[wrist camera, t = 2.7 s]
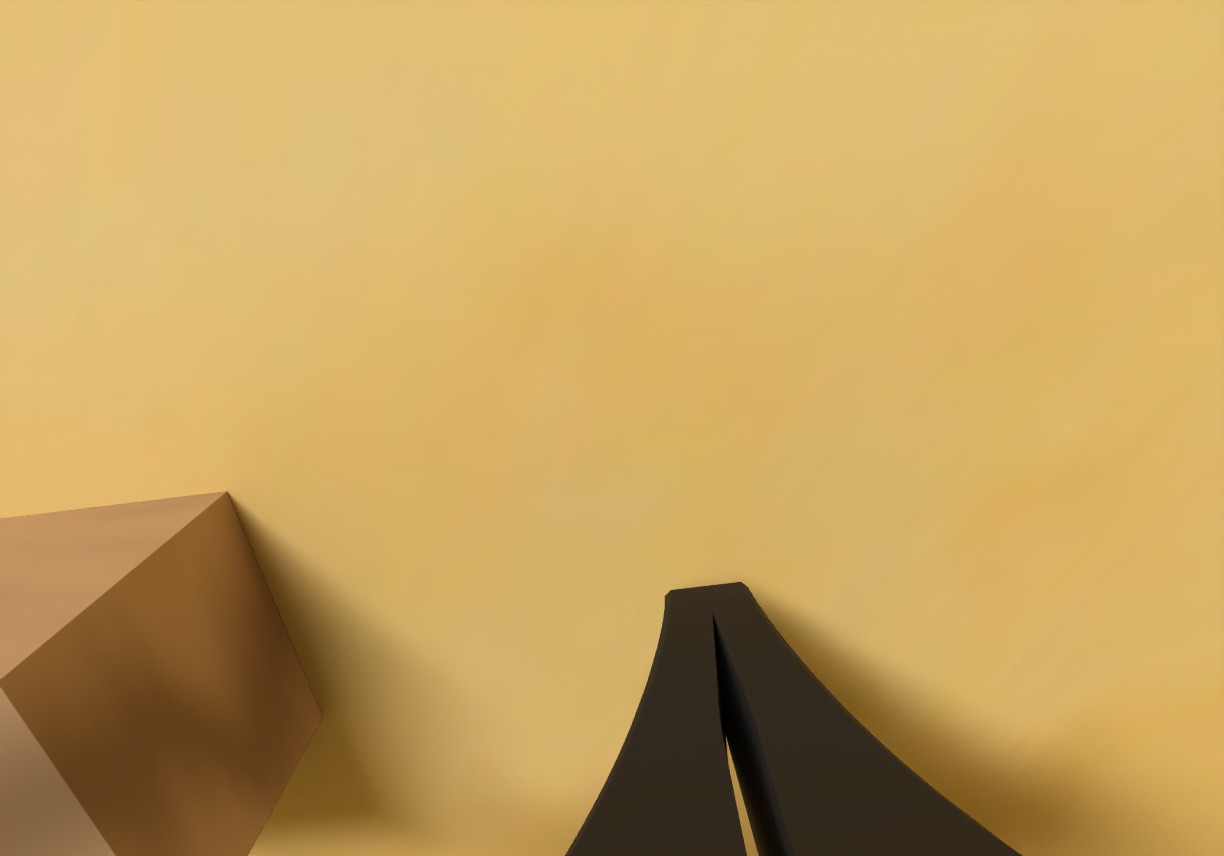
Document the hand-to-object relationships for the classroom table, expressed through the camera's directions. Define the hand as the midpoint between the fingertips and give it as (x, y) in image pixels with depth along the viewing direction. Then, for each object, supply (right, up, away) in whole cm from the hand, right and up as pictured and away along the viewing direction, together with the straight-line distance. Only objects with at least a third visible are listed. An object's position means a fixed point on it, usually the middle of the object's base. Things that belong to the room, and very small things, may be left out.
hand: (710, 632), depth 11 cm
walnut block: (-12, -1, +3) cm, 12 cm away
